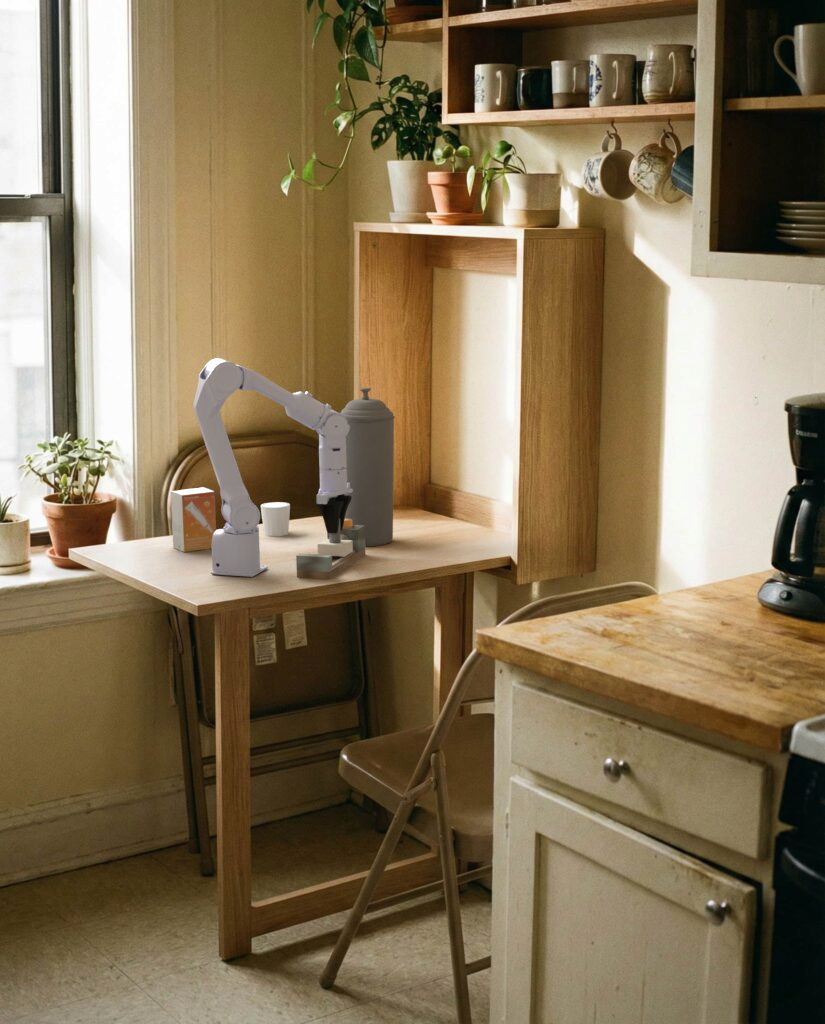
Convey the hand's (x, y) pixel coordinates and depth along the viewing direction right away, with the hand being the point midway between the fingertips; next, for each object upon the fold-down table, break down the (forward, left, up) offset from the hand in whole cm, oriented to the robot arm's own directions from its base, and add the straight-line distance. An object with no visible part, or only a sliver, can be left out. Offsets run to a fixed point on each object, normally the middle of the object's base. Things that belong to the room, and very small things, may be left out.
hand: (334, 531), depth 286 cm
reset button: (0, +7, -2) cm, 7 cm away
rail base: (0, -2, -7) cm, 7 cm away
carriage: (0, 0, -5) cm, 5 cm away
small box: (-36, +6, -7) cm, 37 cm away
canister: (0, +21, -7) cm, 22 cm away
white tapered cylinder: (-24, +24, -7) cm, 35 cm away
